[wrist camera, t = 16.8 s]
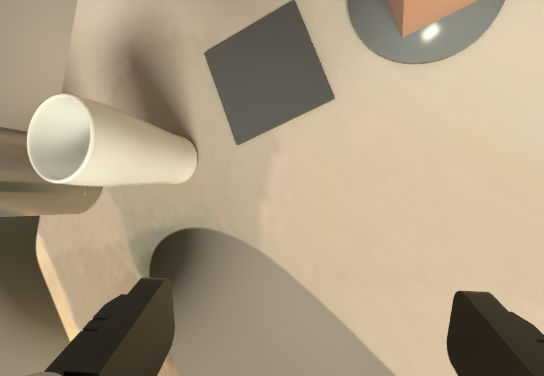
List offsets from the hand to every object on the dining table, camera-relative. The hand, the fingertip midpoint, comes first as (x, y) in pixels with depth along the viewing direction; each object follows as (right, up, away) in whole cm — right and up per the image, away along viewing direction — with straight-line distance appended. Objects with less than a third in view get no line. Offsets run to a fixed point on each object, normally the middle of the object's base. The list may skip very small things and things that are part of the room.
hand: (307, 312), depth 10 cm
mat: (-2, +15, +26) cm, 30 cm away
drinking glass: (-11, +7, +29) cm, 32 cm away
